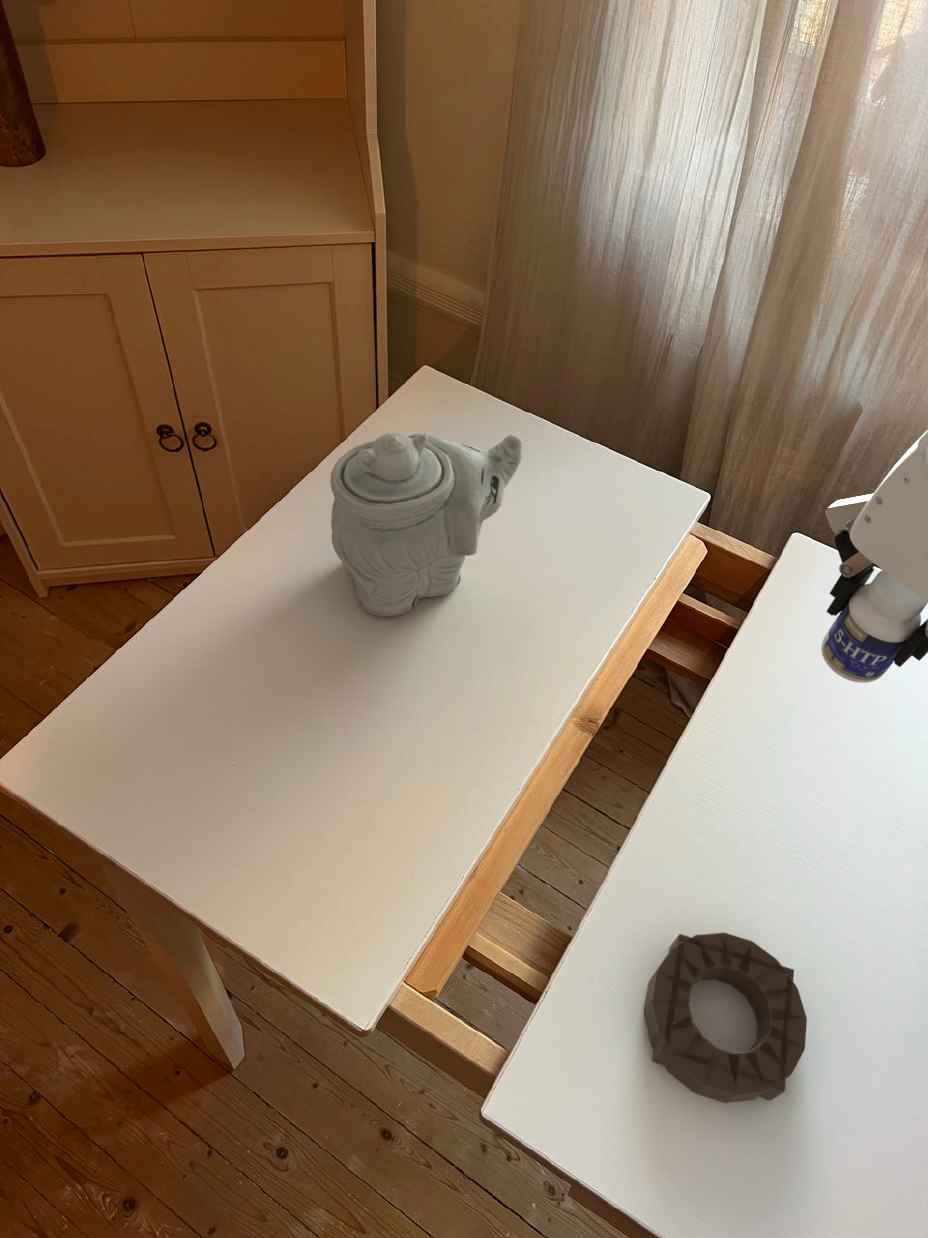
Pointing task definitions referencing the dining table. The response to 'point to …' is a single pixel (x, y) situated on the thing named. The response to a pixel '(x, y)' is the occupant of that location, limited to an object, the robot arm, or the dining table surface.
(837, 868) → the dining table surface
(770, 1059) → the socket plate
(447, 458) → the teapot
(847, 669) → the pill bottle
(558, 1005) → the dining table surface
